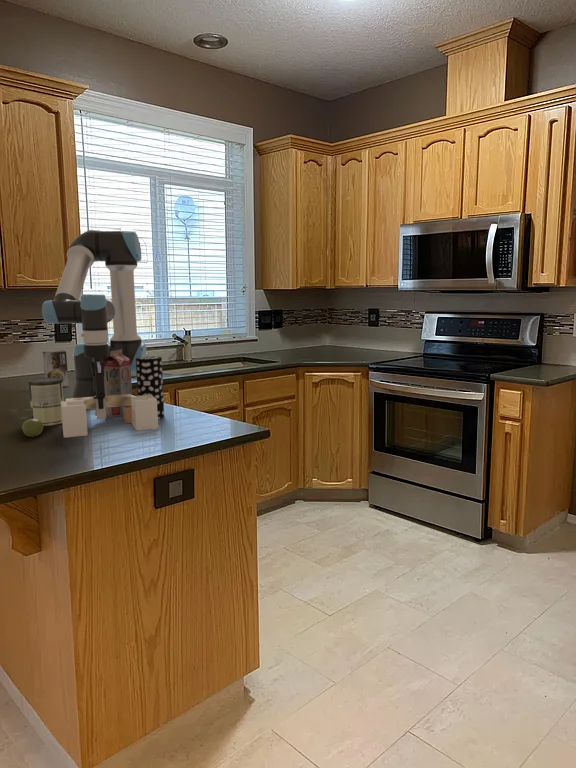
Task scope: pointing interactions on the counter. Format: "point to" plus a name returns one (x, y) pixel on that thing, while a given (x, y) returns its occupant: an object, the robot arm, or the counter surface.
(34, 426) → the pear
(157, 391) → the spotted tube
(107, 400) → the birch slat
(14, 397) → the counter surface
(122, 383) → the juice carton
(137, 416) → the end caps
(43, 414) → the coffee can
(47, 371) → the coffee box
